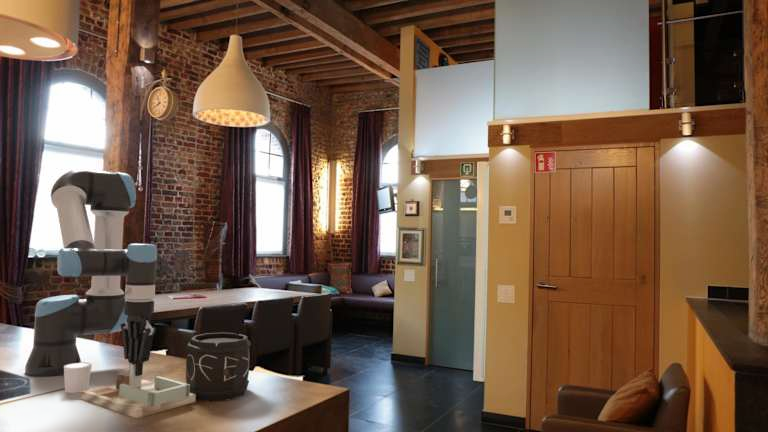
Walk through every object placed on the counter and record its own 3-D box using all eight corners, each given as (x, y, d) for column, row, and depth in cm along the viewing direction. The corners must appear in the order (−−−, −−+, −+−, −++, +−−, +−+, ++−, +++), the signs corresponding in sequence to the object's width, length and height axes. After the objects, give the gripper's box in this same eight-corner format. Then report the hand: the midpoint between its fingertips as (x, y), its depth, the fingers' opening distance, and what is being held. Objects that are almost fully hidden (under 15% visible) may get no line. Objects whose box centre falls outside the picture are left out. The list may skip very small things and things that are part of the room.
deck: (81, 398, 145) (81, 391, 145) (139, 385, 159) (140, 378, 159) (137, 418, 132) (137, 410, 132) (195, 401, 146) (195, 394, 146)
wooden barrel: (188, 406, 142) (191, 345, 143) (179, 387, 158) (182, 333, 159) (256, 398, 151) (259, 341, 151) (242, 382, 167) (244, 330, 167)
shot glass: (96, 388, 155) (97, 363, 155) (75, 394, 148) (76, 369, 149) (77, 385, 157) (79, 361, 157) (56, 391, 151) (57, 366, 151)
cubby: (119, 396, 142) (119, 384, 142) (158, 386, 152) (158, 376, 152) (150, 406, 135) (151, 394, 135) (189, 395, 144) (190, 384, 144)
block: (115, 388, 149) (116, 373, 149) (131, 384, 153) (131, 370, 153) (125, 391, 146) (126, 376, 147) (140, 387, 150) (141, 373, 150)
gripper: (112, 298, 149) (108, 385, 148) (141, 303, 142) (136, 394, 141) (137, 296, 155) (133, 379, 155) (166, 301, 148) (162, 388, 148)
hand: (135, 386), depth 148 cm, fingers closed
